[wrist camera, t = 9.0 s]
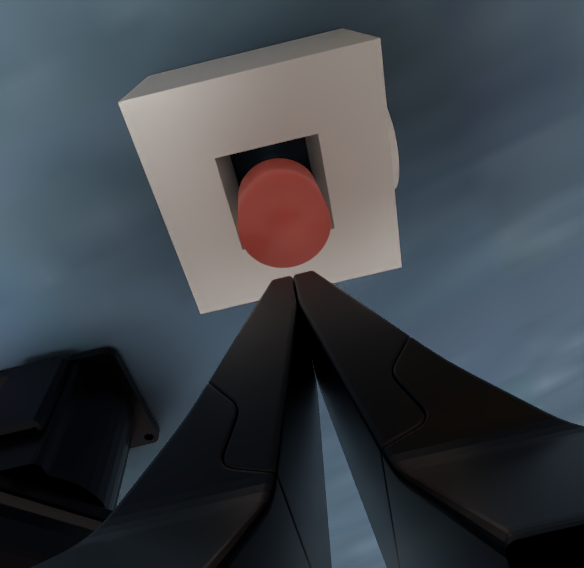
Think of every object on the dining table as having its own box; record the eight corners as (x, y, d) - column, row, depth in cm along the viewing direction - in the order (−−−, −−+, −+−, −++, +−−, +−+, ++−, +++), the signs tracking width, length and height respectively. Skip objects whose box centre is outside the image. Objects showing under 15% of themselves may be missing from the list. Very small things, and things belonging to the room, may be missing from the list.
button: (325, 225, 14) (337, 256, 13) (249, 243, 14) (251, 276, 13) (310, 149, 13) (322, 171, 11) (227, 169, 13) (226, 194, 11)
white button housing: (375, 208, 20) (413, 264, 16) (208, 247, 20) (200, 314, 16) (353, 25, 16) (395, 34, 12) (148, 75, 16) (117, 102, 12)
